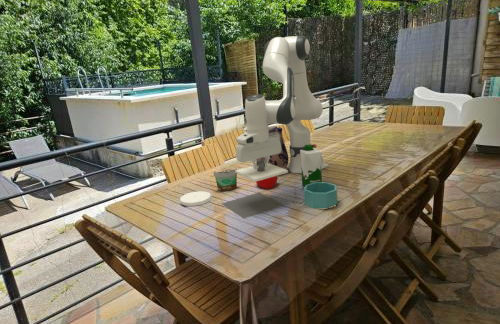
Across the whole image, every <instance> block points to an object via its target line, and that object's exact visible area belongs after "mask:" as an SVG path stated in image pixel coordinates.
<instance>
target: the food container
mask: <svg viewBox="0 0 500 324" xmlns="http://www.w3.org/2000/svg"><path fill="white" fill-rule="evenodd" d="M235 170H238V168H237V167H236V168H235V169H232V170H231V169H230V170H229V169H228V170H222V171H220V172H216V171H214V172H213V177H214V178H215V181H216V186H217V190H218V191H219V192H222V193H224V192H231V191H234V190H236V189H237V188H238V185H237V179H238V174H237V173H236V172H235Z"/></svg>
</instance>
